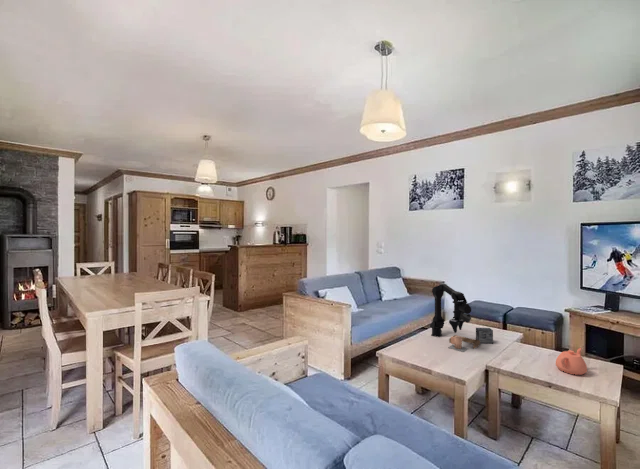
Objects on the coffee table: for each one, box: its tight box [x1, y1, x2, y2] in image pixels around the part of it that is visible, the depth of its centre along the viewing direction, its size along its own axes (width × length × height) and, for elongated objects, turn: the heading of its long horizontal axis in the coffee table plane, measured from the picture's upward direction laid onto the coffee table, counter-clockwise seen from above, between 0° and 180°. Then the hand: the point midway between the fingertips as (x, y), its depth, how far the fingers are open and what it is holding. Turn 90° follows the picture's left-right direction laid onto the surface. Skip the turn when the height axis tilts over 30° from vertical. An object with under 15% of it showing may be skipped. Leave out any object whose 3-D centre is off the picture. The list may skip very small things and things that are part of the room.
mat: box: [448, 344, 469, 353], centre depth 232 cm, size 11×9×1 cm
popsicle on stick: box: [450, 335, 463, 349], centre depth 232 cm, size 5×8×8 cm, turn 47°
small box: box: [475, 327, 494, 345], centre depth 244 cm, size 11×6×10 cm, turn 84°
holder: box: [448, 334, 481, 349], centre depth 241 cm, size 18×11×3 cm, turn 47°
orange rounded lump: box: [555, 347, 588, 376], centre depth 195 cm, size 22×15×12 cm
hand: (457, 331), depth 233 cm, fingers open, 9 cm apart
